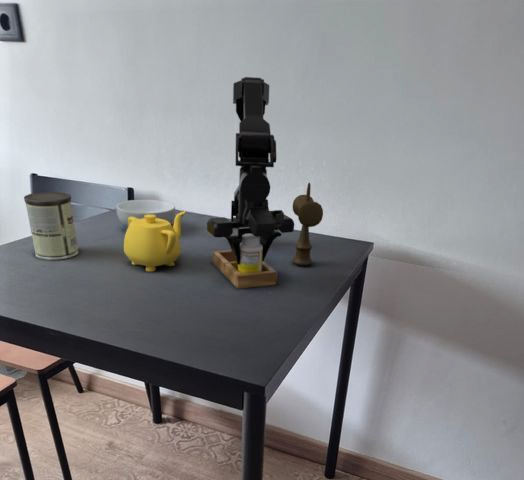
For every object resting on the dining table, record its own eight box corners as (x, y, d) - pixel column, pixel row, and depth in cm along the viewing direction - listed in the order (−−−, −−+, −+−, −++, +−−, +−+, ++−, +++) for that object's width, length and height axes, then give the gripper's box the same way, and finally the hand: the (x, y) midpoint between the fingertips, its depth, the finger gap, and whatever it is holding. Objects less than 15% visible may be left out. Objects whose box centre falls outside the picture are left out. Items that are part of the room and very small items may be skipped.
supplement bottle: (248, 273, 116) (249, 230, 111) (266, 279, 113) (268, 236, 108) (232, 278, 112) (233, 235, 107) (250, 285, 109) (252, 241, 104)
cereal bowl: (170, 239, 136) (169, 214, 133) (111, 236, 136) (108, 210, 133) (180, 223, 151) (179, 200, 148) (126, 220, 151) (124, 197, 147)
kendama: (294, 270, 119) (300, 186, 109) (287, 257, 127) (293, 178, 117) (317, 270, 120) (326, 187, 110) (309, 257, 128) (317, 179, 118)
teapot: (182, 274, 113) (180, 224, 107) (120, 273, 112) (115, 222, 106) (187, 255, 125) (185, 208, 119) (130, 253, 124) (126, 206, 118)
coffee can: (36, 248, 124) (25, 191, 117) (79, 246, 127) (71, 191, 120) (33, 261, 116) (21, 201, 109) (78, 259, 119) (70, 200, 112)
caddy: (212, 263, 121) (212, 251, 119) (247, 259, 124) (247, 248, 123) (237, 288, 107) (238, 276, 105) (276, 284, 110) (276, 271, 109)
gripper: (223, 203, 93) (222, 279, 101) (309, 199, 100) (302, 270, 107) (206, 190, 102) (206, 262, 109) (285, 188, 109) (280, 255, 116)
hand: (249, 262), depth 110 cm, fingers closed on supplement bottle, 5 cm apart
